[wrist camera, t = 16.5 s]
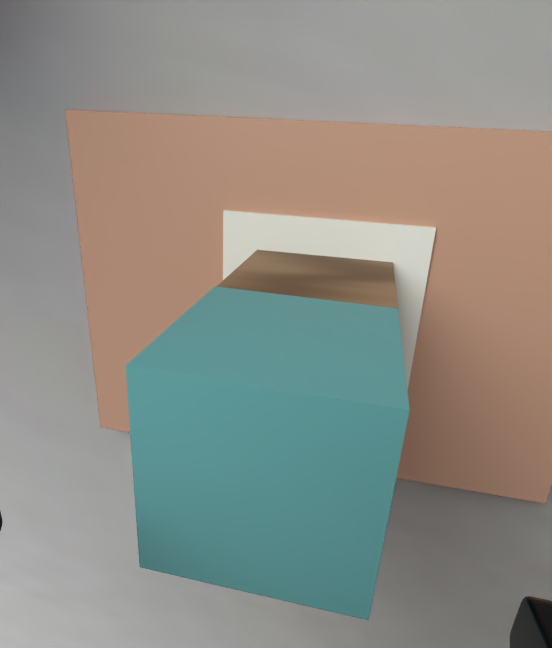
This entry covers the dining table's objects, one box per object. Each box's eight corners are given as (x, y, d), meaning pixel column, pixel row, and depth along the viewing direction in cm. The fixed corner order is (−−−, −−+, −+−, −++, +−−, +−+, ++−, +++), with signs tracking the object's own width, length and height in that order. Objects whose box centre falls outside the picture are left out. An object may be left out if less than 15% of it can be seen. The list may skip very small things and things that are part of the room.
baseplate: (651, 137, 15) (673, 137, 14) (538, 487, 20) (547, 507, 19) (80, 110, 18) (61, 109, 17) (111, 416, 23) (97, 429, 22)
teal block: (398, 308, 12) (409, 409, 8) (372, 464, 14) (368, 620, 9) (214, 286, 13) (125, 365, 8) (213, 436, 15) (139, 567, 10)
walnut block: (392, 262, 17) (398, 308, 12) (375, 384, 19) (373, 464, 14) (257, 249, 18) (214, 288, 13) (253, 367, 19) (215, 437, 15)
